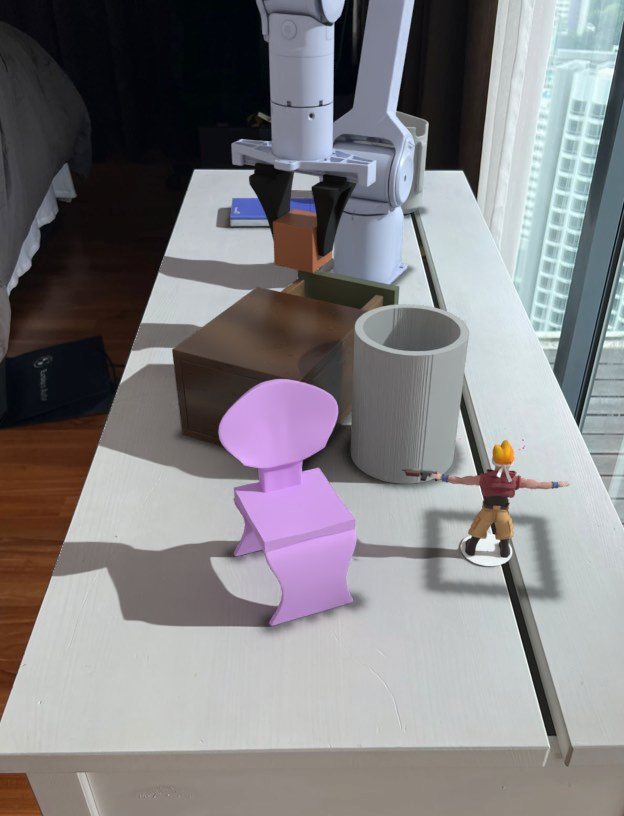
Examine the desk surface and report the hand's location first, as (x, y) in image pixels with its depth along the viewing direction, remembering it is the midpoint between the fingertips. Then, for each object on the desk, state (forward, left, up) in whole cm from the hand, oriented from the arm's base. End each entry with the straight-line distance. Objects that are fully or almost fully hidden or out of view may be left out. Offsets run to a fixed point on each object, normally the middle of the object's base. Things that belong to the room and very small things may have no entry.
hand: (303, 248), depth 85 cm
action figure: (+26, +28, -10) cm, 39 cm away
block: (0, 0, -1) cm, 1 cm away
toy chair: (+35, +17, -10) cm, 40 cm away
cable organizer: (-45, -9, -10) cm, 47 cm away
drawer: (+4, +5, -9) cm, 11 cm away
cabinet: (+15, +5, -10) cm, 19 cm away
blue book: (-32, -21, -10) cm, 40 cm away
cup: (+16, +18, -10) cm, 26 cm away
